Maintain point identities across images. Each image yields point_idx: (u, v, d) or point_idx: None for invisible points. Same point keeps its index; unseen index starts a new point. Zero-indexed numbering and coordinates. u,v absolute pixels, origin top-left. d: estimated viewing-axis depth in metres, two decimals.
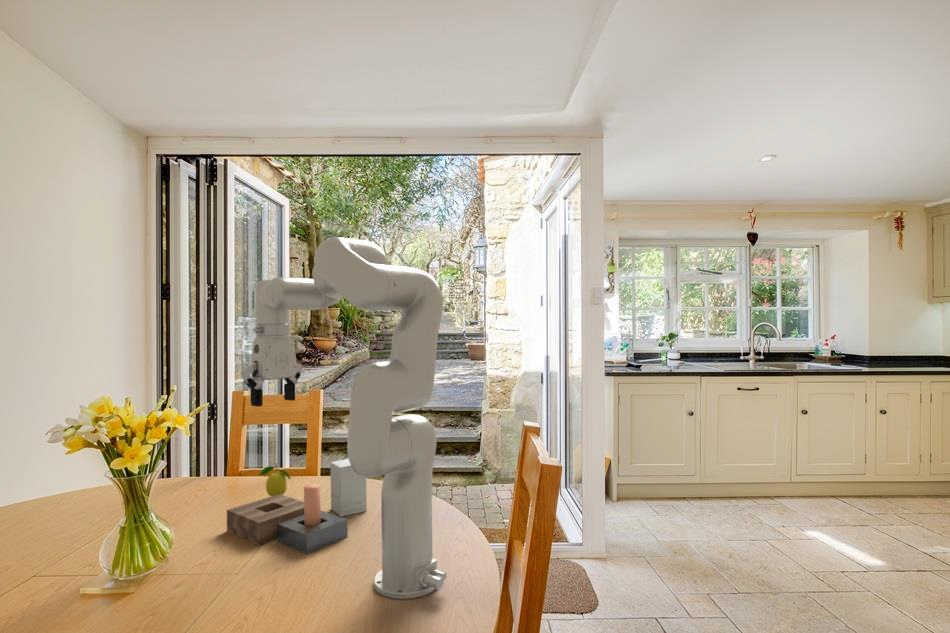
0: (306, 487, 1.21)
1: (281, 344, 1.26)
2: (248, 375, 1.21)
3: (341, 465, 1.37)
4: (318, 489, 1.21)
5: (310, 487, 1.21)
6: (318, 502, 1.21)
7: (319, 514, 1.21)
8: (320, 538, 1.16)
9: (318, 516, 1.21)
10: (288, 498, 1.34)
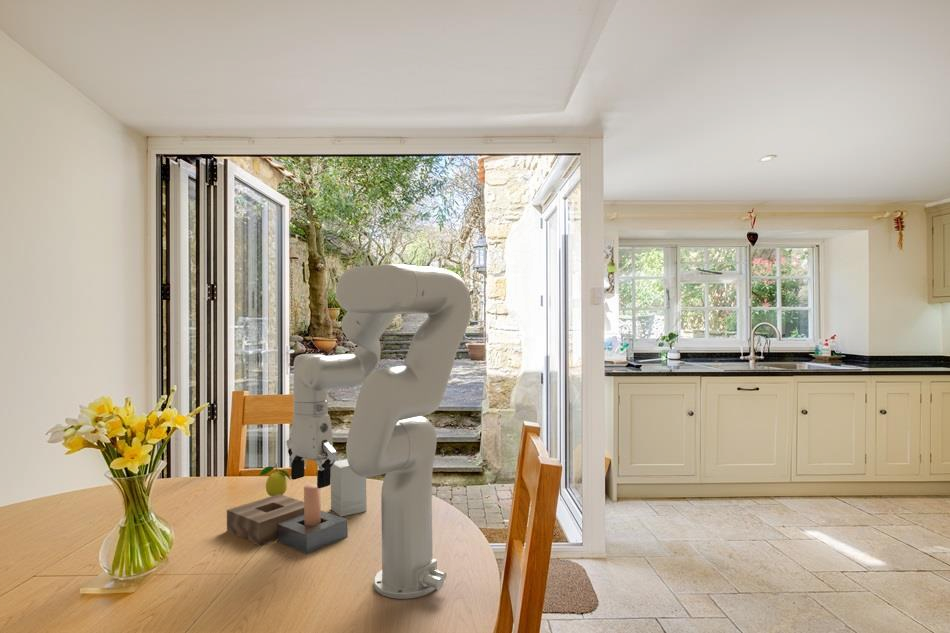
0: (306, 487, 1.21)
1: None
2: None
3: (341, 465, 1.37)
4: (318, 489, 1.21)
5: (310, 487, 1.21)
6: (318, 502, 1.21)
7: (319, 514, 1.21)
8: (320, 538, 1.16)
9: (318, 516, 1.21)
10: (288, 498, 1.34)
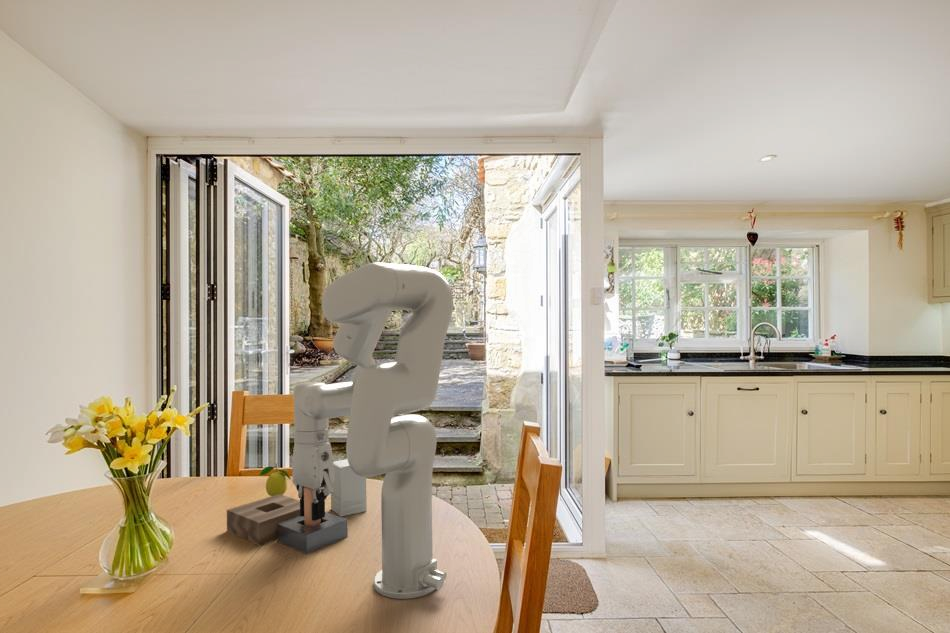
0: (306, 487, 1.21)
1: None
2: None
3: (341, 465, 1.37)
4: None
5: None
6: None
7: None
8: (320, 538, 1.16)
9: None
10: (288, 498, 1.34)
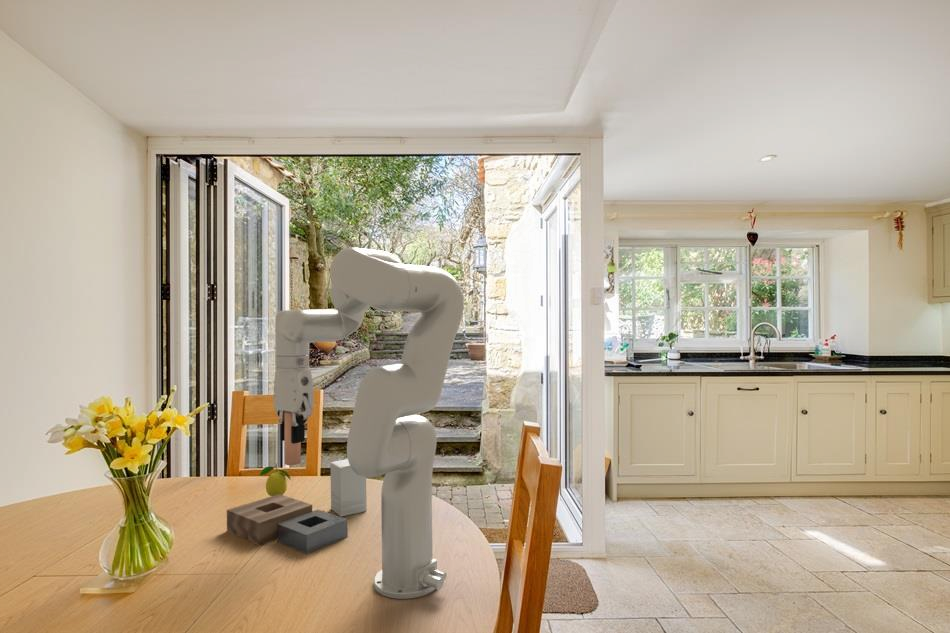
0: (286, 412, 1.24)
1: None
2: None
3: (341, 465, 1.37)
4: None
5: None
6: None
7: None
8: (320, 538, 1.16)
9: None
10: (288, 498, 1.34)
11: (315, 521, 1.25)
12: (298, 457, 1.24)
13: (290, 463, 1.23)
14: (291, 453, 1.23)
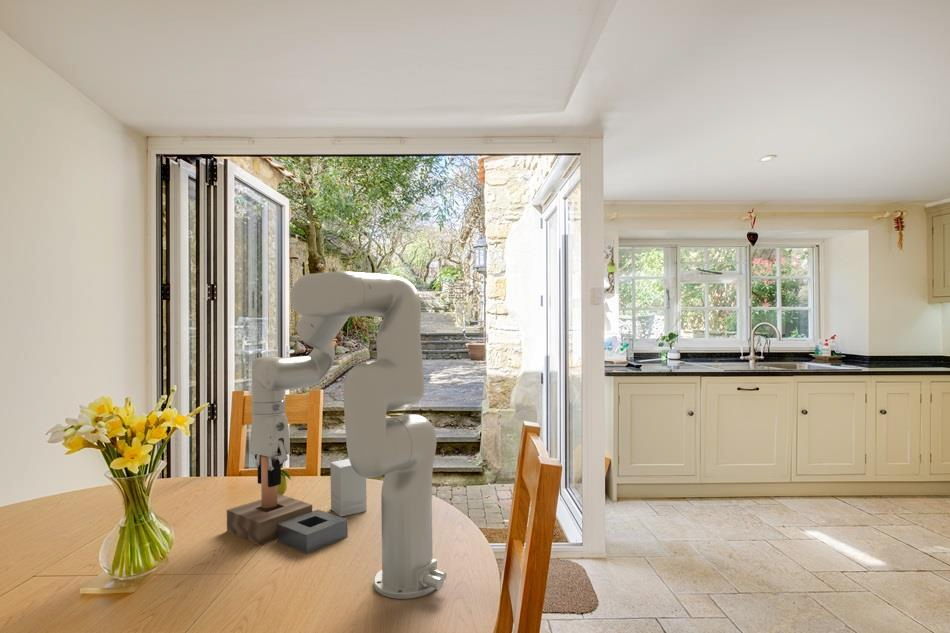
0: (263, 456, 1.28)
1: None
2: None
3: (341, 465, 1.37)
4: None
5: None
6: None
7: None
8: (320, 538, 1.16)
9: None
10: (288, 498, 1.34)
11: (315, 521, 1.25)
12: (275, 500, 1.28)
13: (267, 506, 1.27)
14: (267, 496, 1.27)
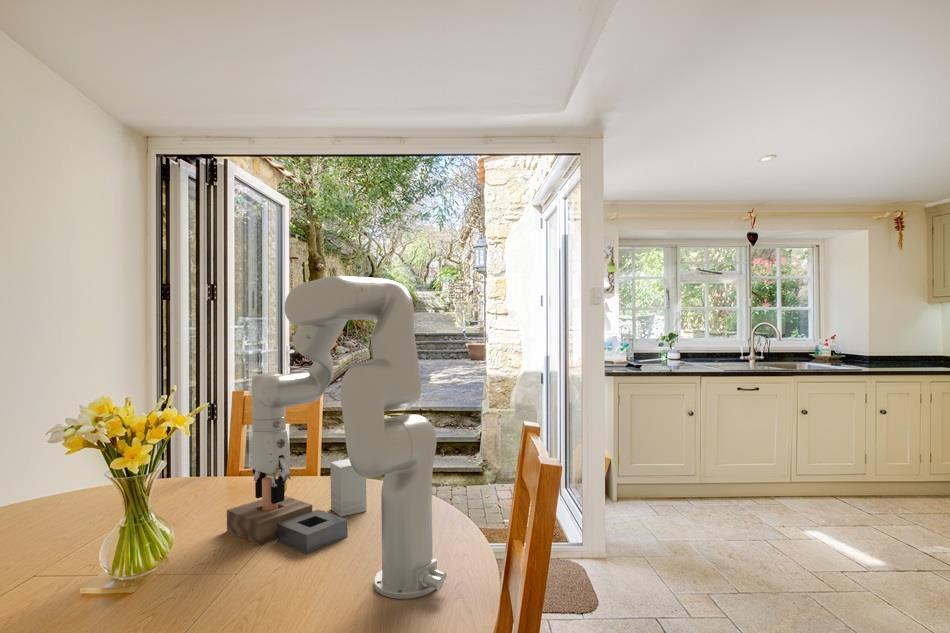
0: (264, 479, 1.28)
1: None
2: None
3: (341, 465, 1.37)
4: None
5: (268, 478, 1.28)
6: None
7: (276, 504, 1.28)
8: (320, 538, 1.16)
9: (275, 506, 1.27)
10: (288, 498, 1.34)
11: (315, 521, 1.25)
12: None
13: None
14: None
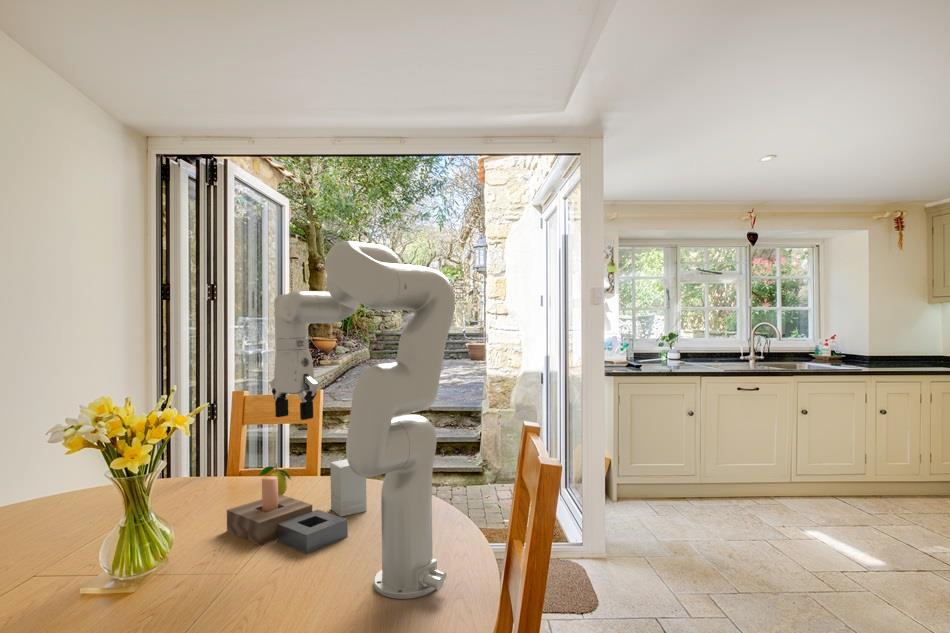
0: (264, 479, 1.28)
1: None
2: None
3: (341, 465, 1.37)
4: (275, 481, 1.27)
5: (268, 478, 1.28)
6: (275, 493, 1.27)
7: (276, 504, 1.28)
8: (320, 538, 1.16)
9: (275, 506, 1.27)
10: (288, 498, 1.34)
11: (315, 521, 1.25)
12: None
13: None
14: None
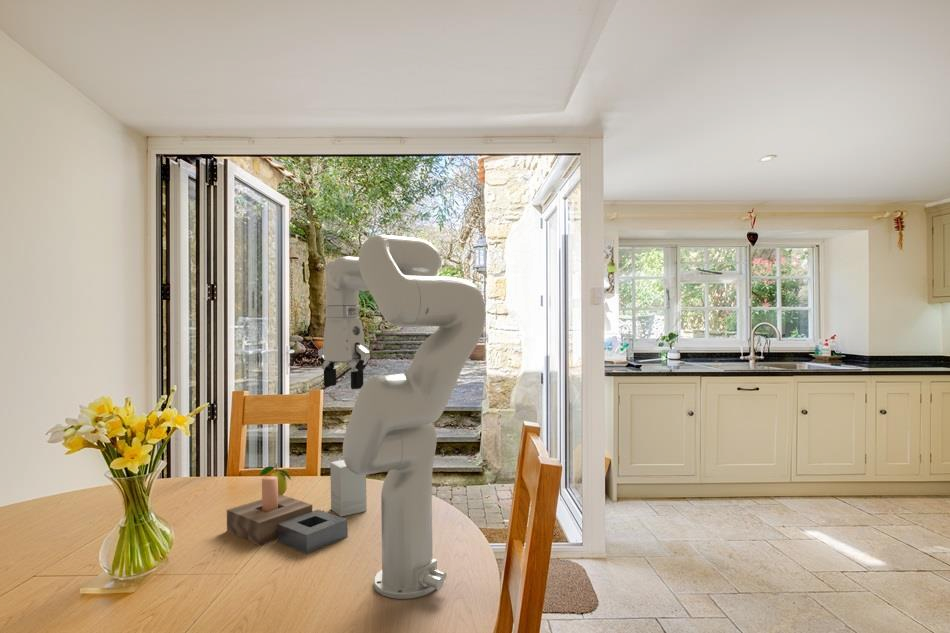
0: (264, 479, 1.28)
1: None
2: None
3: (341, 465, 1.37)
4: (275, 481, 1.27)
5: (268, 478, 1.28)
6: (275, 493, 1.27)
7: (276, 504, 1.28)
8: (320, 538, 1.16)
9: (275, 506, 1.27)
10: (288, 498, 1.34)
11: (315, 521, 1.25)
12: None
13: None
14: None
